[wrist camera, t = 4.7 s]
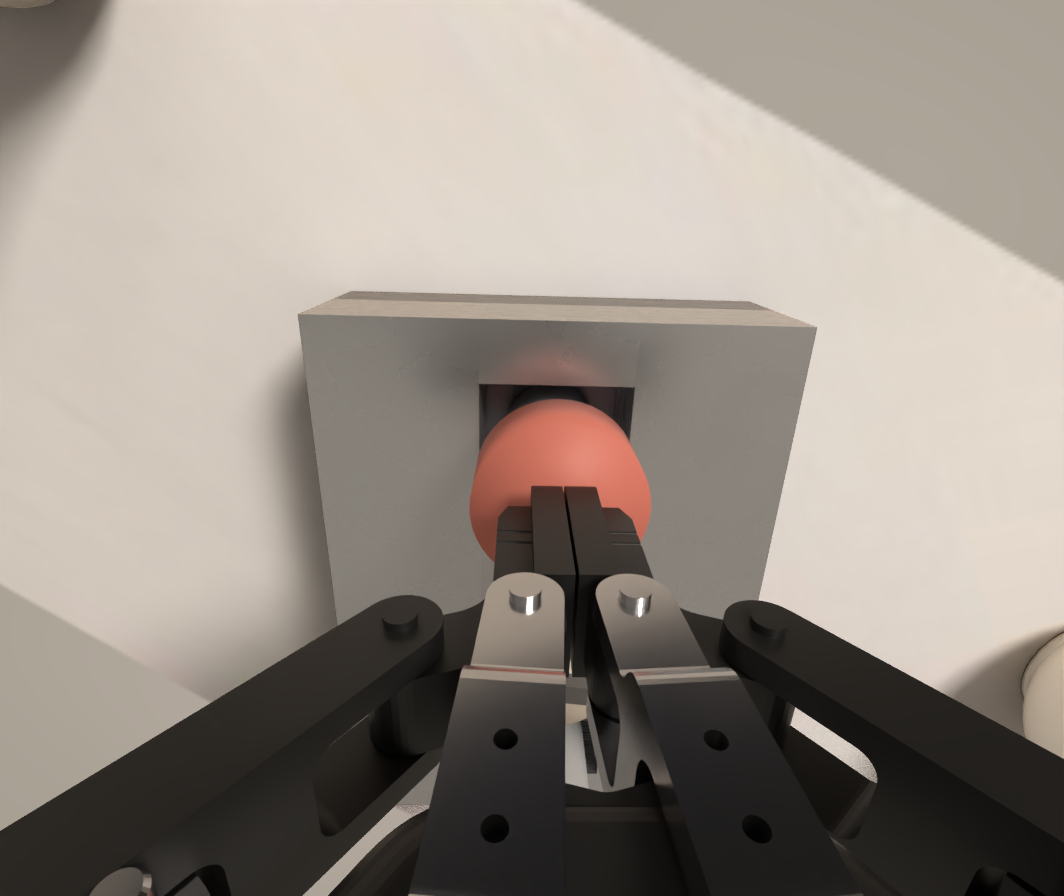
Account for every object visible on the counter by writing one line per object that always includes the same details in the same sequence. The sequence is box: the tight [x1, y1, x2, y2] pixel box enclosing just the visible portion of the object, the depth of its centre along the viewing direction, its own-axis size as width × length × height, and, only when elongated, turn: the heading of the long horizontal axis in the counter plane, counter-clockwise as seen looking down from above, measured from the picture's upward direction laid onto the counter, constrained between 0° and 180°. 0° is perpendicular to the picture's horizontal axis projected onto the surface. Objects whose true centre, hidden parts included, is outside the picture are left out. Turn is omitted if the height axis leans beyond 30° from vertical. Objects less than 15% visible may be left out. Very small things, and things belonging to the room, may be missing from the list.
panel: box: [298, 291, 817, 805], centre depth 21 cm, size 14×19×5 cm
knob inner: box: [469, 385, 651, 563], centre depth 16 cm, size 4×4×6 cm
